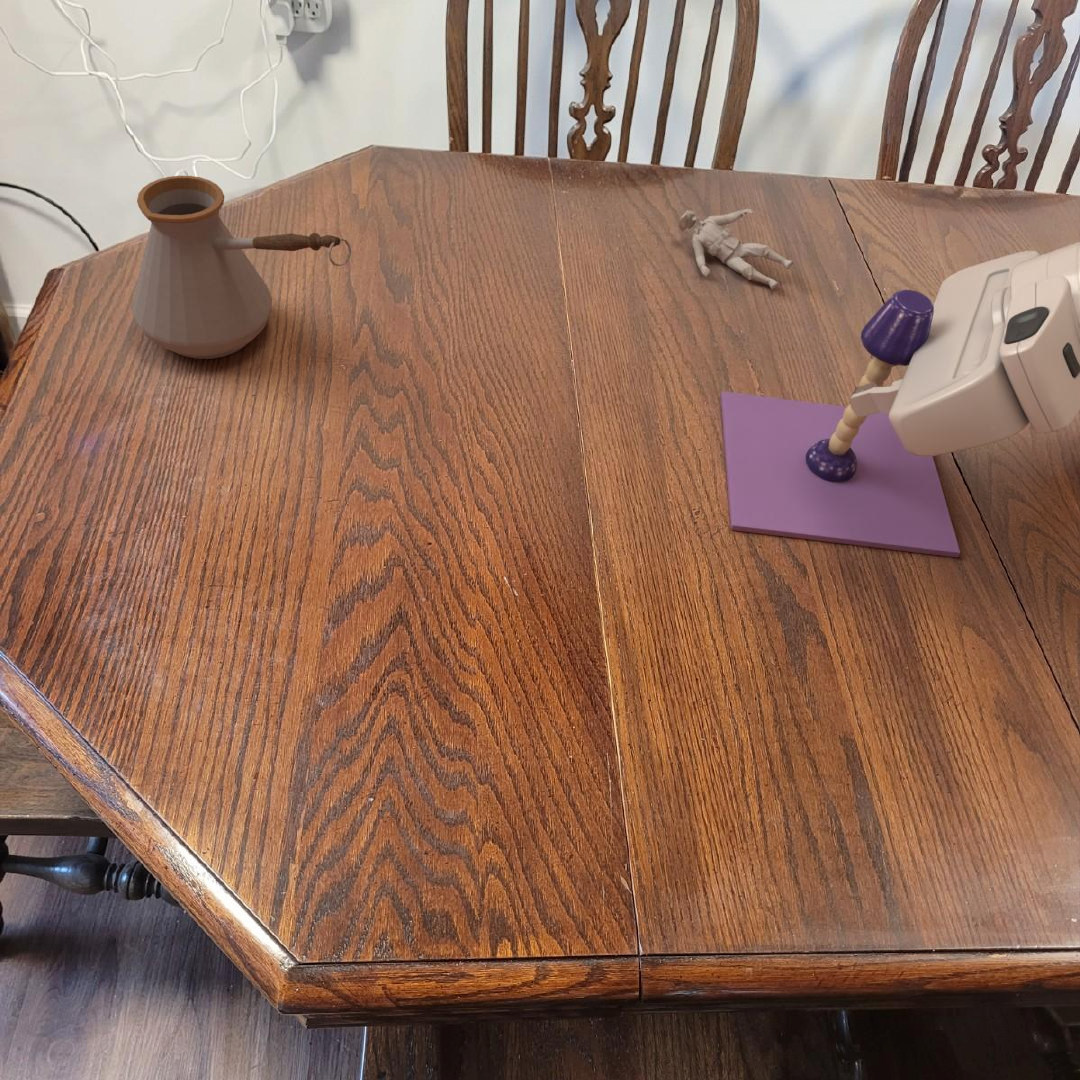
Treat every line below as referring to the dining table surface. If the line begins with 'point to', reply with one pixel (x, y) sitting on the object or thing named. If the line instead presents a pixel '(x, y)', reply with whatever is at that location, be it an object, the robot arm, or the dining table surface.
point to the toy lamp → (875, 375)
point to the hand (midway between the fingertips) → (865, 379)
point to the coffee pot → (203, 271)
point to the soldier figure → (728, 245)
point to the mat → (823, 506)
